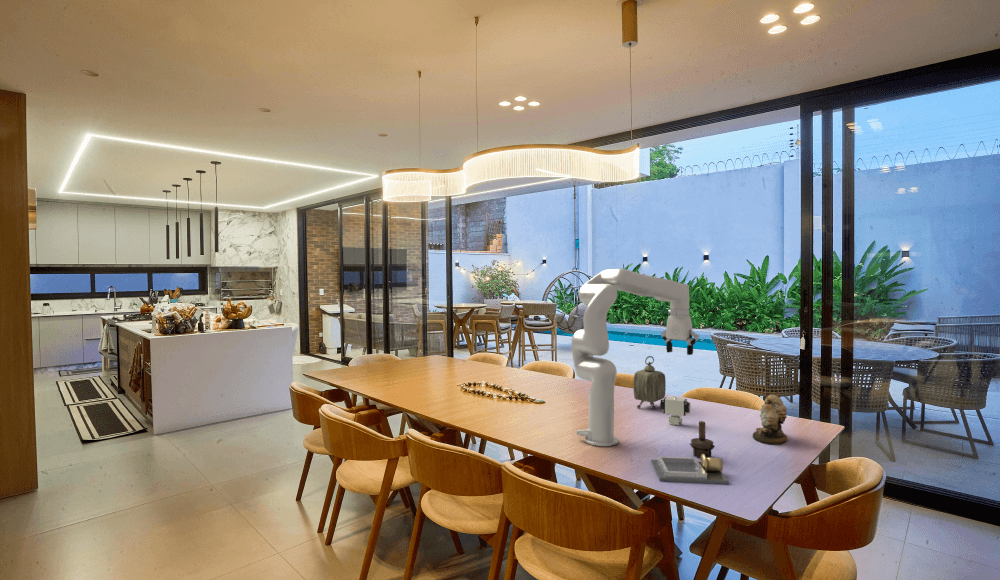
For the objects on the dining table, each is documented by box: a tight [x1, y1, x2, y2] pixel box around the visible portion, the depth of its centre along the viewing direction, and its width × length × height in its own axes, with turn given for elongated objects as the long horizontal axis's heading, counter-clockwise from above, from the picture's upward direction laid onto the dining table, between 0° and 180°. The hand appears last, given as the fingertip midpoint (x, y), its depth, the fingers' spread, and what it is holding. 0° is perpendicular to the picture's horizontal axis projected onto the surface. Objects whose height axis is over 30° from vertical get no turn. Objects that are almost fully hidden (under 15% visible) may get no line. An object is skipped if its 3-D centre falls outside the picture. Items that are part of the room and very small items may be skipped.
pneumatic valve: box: [659, 395, 692, 426], centre depth 215 cm, size 6×12×12 cm, turn 61°
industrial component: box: [689, 420, 716, 459], centre depth 175 cm, size 9×7×12 cm
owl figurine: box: [752, 394, 788, 446], centre depth 195 cm, size 18×12×17 cm, turn 150°
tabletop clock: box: [632, 355, 667, 409], centre depth 244 cm, size 14×9×25 cm, turn 130°
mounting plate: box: [650, 454, 730, 485], centre depth 160 cm, size 20×16×6 cm
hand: (679, 353), depth 213 cm, fingers open, 9 cm apart
